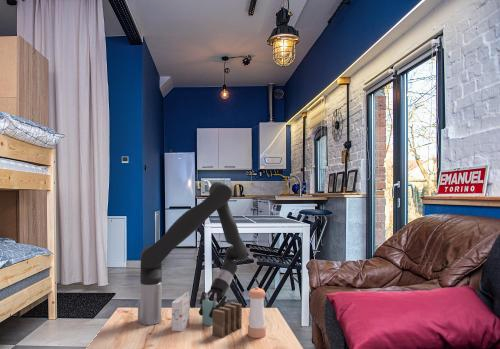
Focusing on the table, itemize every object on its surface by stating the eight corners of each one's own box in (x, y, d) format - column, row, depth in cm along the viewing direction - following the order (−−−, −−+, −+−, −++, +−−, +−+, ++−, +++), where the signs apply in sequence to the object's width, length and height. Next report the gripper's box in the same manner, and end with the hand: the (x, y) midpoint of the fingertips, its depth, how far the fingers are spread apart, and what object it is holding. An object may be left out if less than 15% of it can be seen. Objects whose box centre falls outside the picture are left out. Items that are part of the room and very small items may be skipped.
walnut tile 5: (214, 334, 155) (215, 309, 156) (224, 336, 153) (224, 311, 153) (212, 335, 154) (212, 310, 154) (222, 338, 151) (222, 312, 152)
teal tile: (204, 322, 169) (204, 299, 169) (213, 324, 166) (213, 301, 166) (202, 323, 167) (202, 300, 168) (211, 325, 165) (211, 302, 165)
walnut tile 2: (232, 325, 165) (232, 302, 166) (241, 327, 163) (241, 304, 163) (229, 326, 164) (230, 303, 164) (239, 328, 161) (239, 305, 162)
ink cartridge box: (178, 323, 167) (179, 289, 168) (189, 324, 166) (190, 290, 167) (171, 330, 159) (171, 295, 159) (182, 331, 158) (182, 295, 158)
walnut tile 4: (220, 331, 159) (220, 306, 159) (230, 333, 156) (230, 308, 156) (218, 332, 157) (218, 307, 158) (228, 334, 155) (228, 309, 155)
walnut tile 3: (226, 328, 162) (226, 304, 163) (236, 330, 159) (236, 306, 160) (224, 329, 161) (224, 305, 161) (233, 331, 158) (233, 307, 158)
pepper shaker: (251, 339, 150) (252, 290, 151) (245, 332, 157) (245, 285, 158) (268, 336, 153) (268, 288, 154) (261, 330, 160) (261, 284, 161)
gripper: (206, 275, 177) (188, 308, 167) (231, 279, 170) (214, 314, 159) (213, 284, 182) (196, 317, 171) (238, 289, 174) (222, 323, 163)
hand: (205, 315), depth 165 cm, fingers closed on teal tile, 5 cm apart
